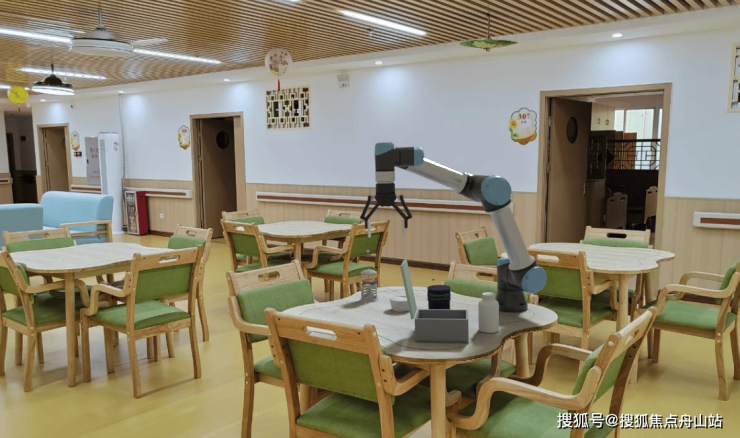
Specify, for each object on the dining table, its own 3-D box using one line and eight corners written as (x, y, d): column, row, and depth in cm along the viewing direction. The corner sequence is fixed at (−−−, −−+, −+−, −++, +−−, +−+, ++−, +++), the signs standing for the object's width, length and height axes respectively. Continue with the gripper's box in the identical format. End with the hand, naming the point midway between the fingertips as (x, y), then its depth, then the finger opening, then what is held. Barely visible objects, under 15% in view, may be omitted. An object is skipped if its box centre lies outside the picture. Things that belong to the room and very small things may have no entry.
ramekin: (414, 306, 275) (414, 295, 274) (414, 312, 264) (413, 301, 263) (390, 306, 276) (390, 295, 275) (389, 312, 265) (388, 301, 264)
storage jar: (456, 321, 247) (455, 279, 245) (441, 326, 240) (440, 283, 238) (437, 317, 254) (436, 276, 252) (423, 322, 247) (421, 280, 245)
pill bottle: (499, 333, 228) (498, 296, 227) (478, 333, 230) (477, 296, 228) (498, 327, 236) (498, 291, 234) (478, 327, 238) (478, 291, 236)
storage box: (468, 331, 232) (468, 309, 231) (468, 343, 219) (468, 319, 218) (418, 331, 236) (417, 309, 235) (415, 342, 222) (414, 319, 221)
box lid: (406, 259, 233) (404, 259, 234) (402, 266, 219) (400, 266, 219) (416, 308, 235) (414, 309, 235) (413, 318, 221) (411, 319, 221)
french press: (379, 301, 285) (377, 251, 282) (355, 302, 284) (353, 252, 282) (379, 297, 294) (377, 248, 292) (356, 297, 294) (354, 248, 292)
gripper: (418, 181, 228) (419, 235, 230) (355, 182, 232) (356, 235, 234) (416, 182, 220) (417, 238, 223) (351, 183, 224) (353, 238, 226)
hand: (386, 237), depth 228 cm, fingers open, 13 cm apart
